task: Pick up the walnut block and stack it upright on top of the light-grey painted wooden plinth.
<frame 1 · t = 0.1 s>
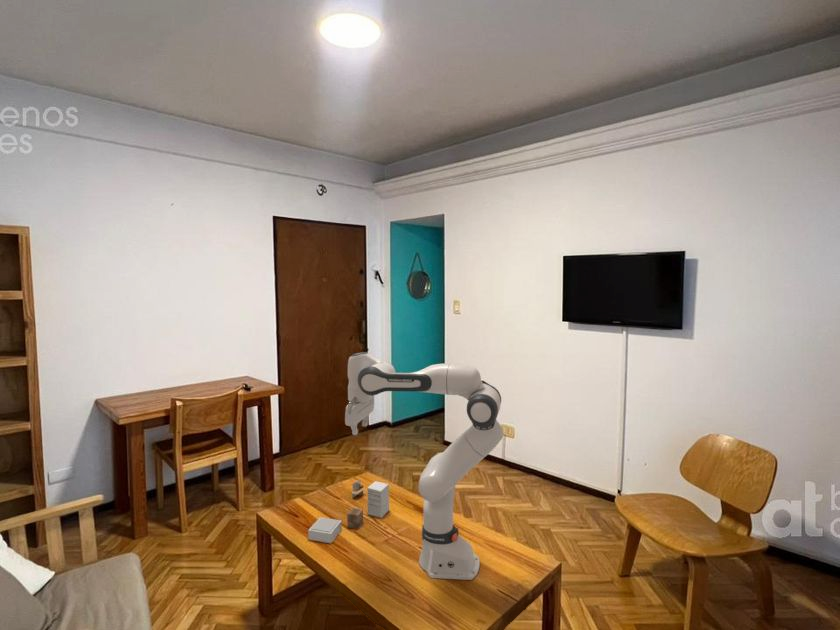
hand: (360, 430, 172), 48 cm above the table, fingers open, 8 cm apart
supplement box: (378, 512, 203), on the table
walnut block: (355, 524, 193), on the table
plinth: (325, 534, 186), on the table
architectural model: (358, 496, 219), on the table
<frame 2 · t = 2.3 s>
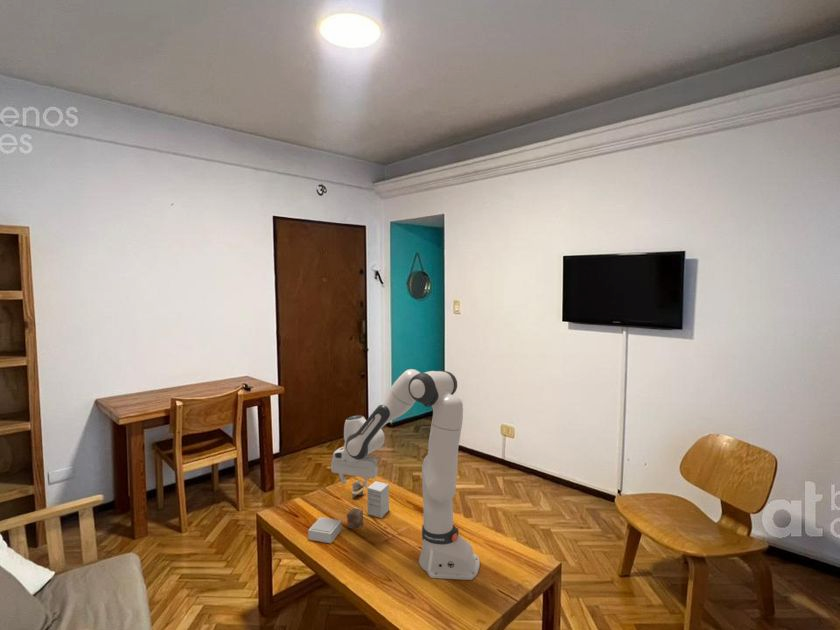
hand: (354, 484, 192), 18 cm above the table, fingers open, 8 cm apart
nothing on the table moved.
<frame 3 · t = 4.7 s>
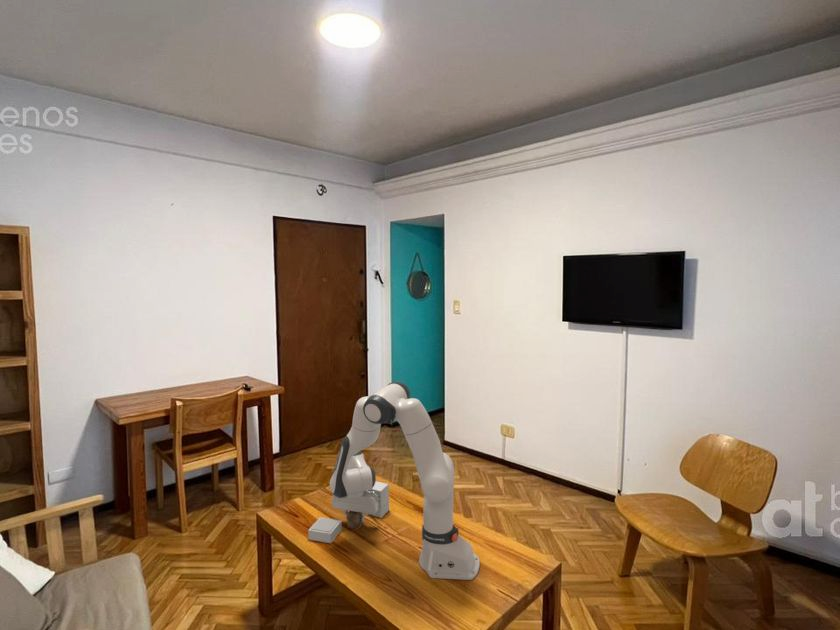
hand: (355, 520, 193), 2 cm above the table, fingers closed on walnut block, 5 cm apart
walnut block: (355, 524, 193), on the table, touching gripper
everything else where it was.
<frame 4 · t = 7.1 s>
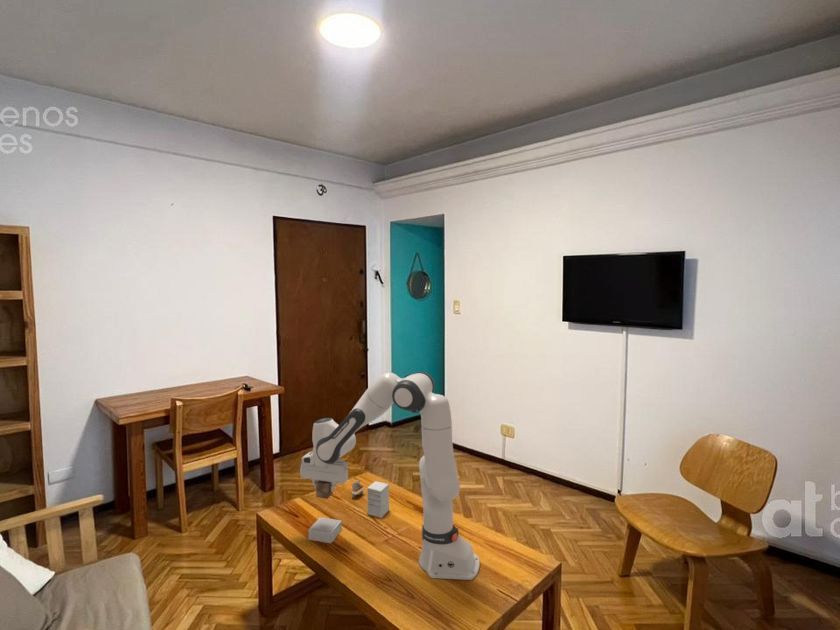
hand: (324, 490, 184), 19 cm above the table, fingers closed on walnut block, 5 cm apart
walnut block: (324, 495, 185), point 17 cm above the table, touching gripper
everything else where it was.
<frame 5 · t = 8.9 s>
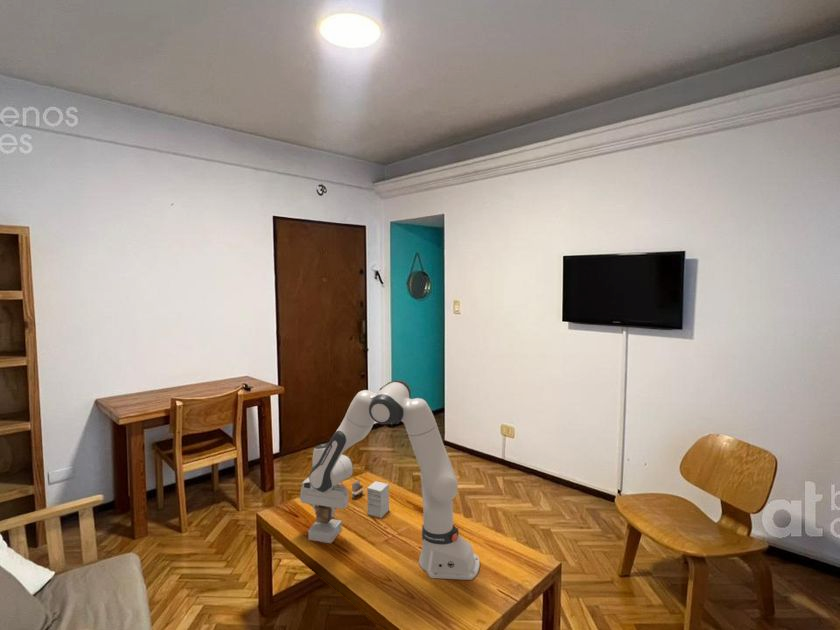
hand: (324, 515, 185), 9 cm above the table, fingers closed on walnut block, 5 cm apart
walnut block: (324, 519, 185), point 6 cm above the table, touching gripper
everything else where it was.
when the fingers open (7 cm above the table, at t = 10.0 s): walnut block stays where it is, resting on plinth.
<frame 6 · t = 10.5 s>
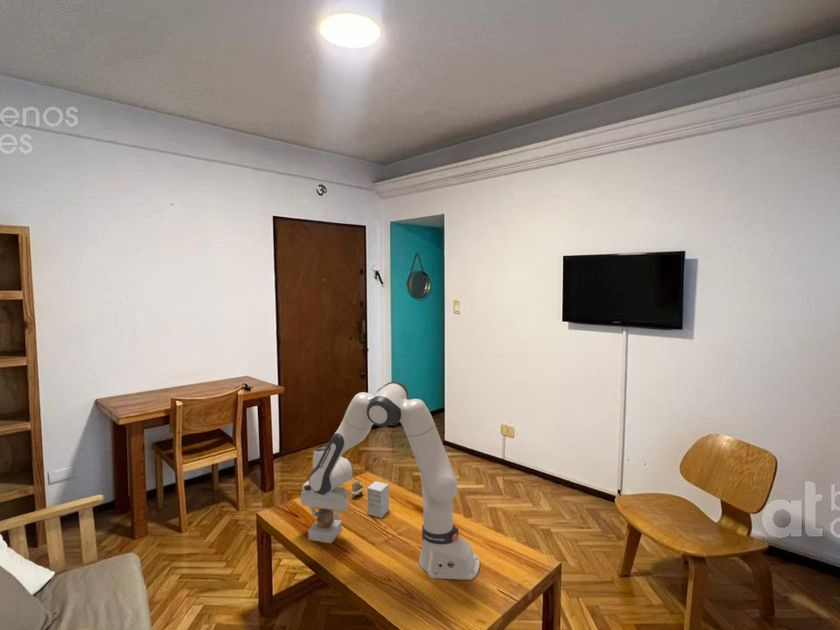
hand: (325, 517, 185), 7 cm above the table, fingers open, 8 cm apart
walnut block: (325, 524, 186), point 4 cm above the table, touching plinth
everything else where it was.
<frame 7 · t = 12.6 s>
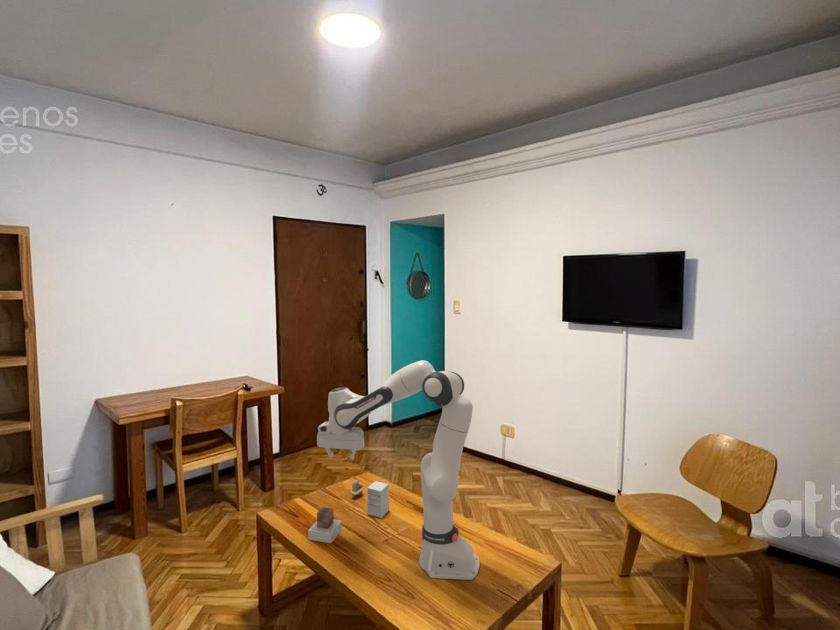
hand: (341, 458, 188), 31 cm above the table, fingers open, 8 cm apart
nothing on the table moved.
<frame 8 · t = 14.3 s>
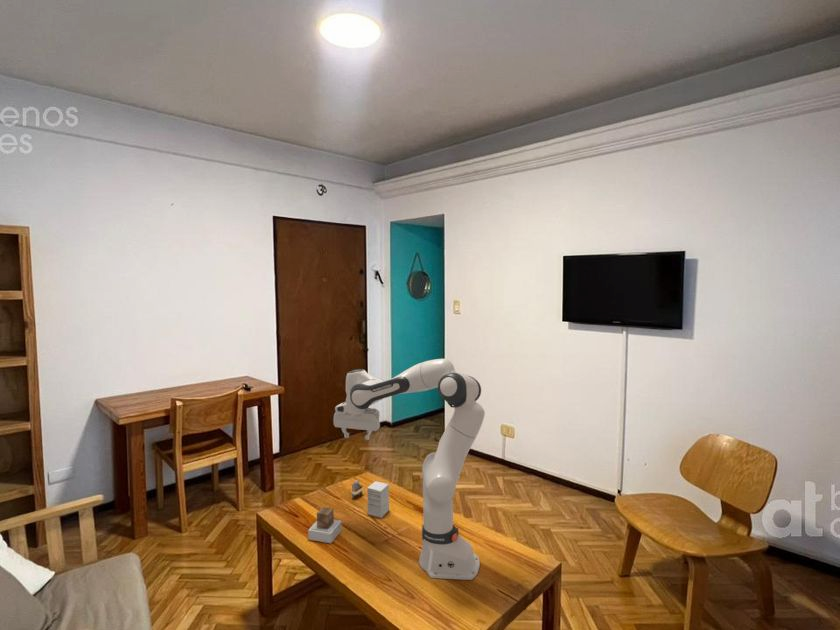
hand: (356, 438, 193), 37 cm above the table, fingers open, 8 cm apart
nothing on the table moved.
at the end: walnut block inside the target area on the plinth (0.1 cm from its centre), point 4.3 cm above the plinth's base; walnut block tilted 0°; the gripper is holding nothing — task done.
